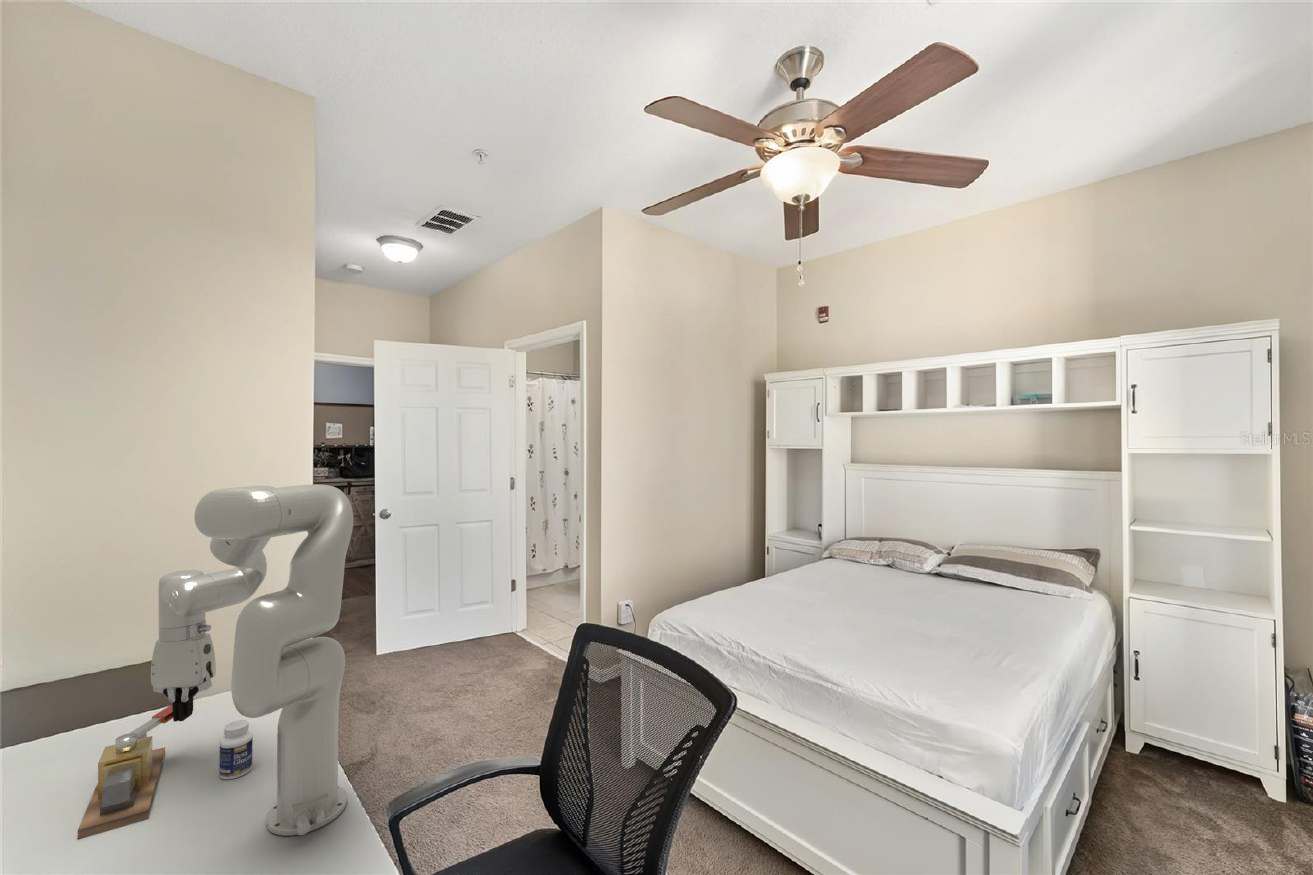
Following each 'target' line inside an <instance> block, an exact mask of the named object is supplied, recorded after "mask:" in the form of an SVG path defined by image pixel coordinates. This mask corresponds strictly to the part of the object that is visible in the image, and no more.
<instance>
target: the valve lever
mask: <svg viewBox="0 0 1313 875" xmlns="http://www.w3.org/2000/svg"><path fill="white" fill-rule="evenodd" d="M172 719H173V714H172V704H170V705H168V706H167V707H166V708H163V709H162V710H161V711H159V712H157V713H156V714H154V715H152V716H151V719H150V720H148V721H147V722H145V723H143V724H141V725H140V726H138V727H137V728H135V729H134V730H132V731H130V732H129V733H125V734H122V735H119V736H118V737H117V738H115V744H116V752H123V751H127V750H130V749H133V748H134V747H136V746H137V738H139V737H141V736H142V735H144V734H145V733H147V734H148V732H150V731H151V730H153V729H155V728H157V727H158V726H160V725H161V724H167V723H168V722H169V721H171V720H172Z"/></svg>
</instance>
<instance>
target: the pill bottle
mask: <svg viewBox="0 0 1313 875" xmlns="http://www.w3.org/2000/svg"><path fill="white" fill-rule="evenodd" d="M249 727H250V726H249V721H248V720H246V719H241V720H240V719H239V720H235V721H231V722H229V723H227V724H226V725H225V726H224V728H223V729H224V730H223V731H224V732H223V736H222V738H221V739H220V740H219V759H218V760H219V763H218V764H219V769H218V770H219V771H218V772H219V777H220V779H222V780H233V779H237V778H239V777H243V776H244V775H246V774H248V773H249V772H250V771H251V770H252V768H253V737H254V736H253V732H252V731H250V730H249Z"/></svg>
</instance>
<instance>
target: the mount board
mask: <svg viewBox="0 0 1313 875" xmlns="http://www.w3.org/2000/svg"><path fill="white" fill-rule="evenodd" d="M165 755H166V747H165V746H164V747H160V748H156V749H152V773H151V776H150V780H149V783H148V786H147V787H144V788H140V789H136V800H135V804H134V806H133V807H129V808H126V809H122V810H119V811H115V812H112V813H108V814H104V815H101V816H100V805H101V802H102V799H99V800H98V783H97V784H96V786H95V789H94V791H93V793H92V795H91V797H90V800H89V802H88V805H87V807H86V809H85V812H84V815H83V817H82V819H81V821H80V823H79V826H78V828H77V840H78V839H82V838H86V837H90V836H93V835H96V834H100V833H103V832H106V831H110V830H113V829H116V828H117V829H118V828H120V827H123V826H127V825H130V824H134V823H137V822H140V821H145V820H148V819H149V817H150V814H151V809H152V805H153V802H154V799H155V793H156V790H157V788H158V787H157V786H158V783H159V779H160V774H161V771H162V768H163V765H164V764H163V763H164V760H165ZM133 791H134V790H133Z"/></svg>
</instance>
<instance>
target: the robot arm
mask: <svg viewBox="0 0 1313 875" xmlns="http://www.w3.org/2000/svg"><path fill="white" fill-rule="evenodd" d="M353 512H354V511H353V507H352V504H351V502H350V499H349V498H348V496H347V495H346V494H345V493H344V492H343V491H342V490H341V489H340V488H337V487H335V486H333V485H327V484H320V483H319V484H317V483H316V484H314V483H313V484H301V485H292V486H291V485H289V486H283V487H281V486H280V487H275V486H270V485H252V486H251V485H249V486H241V487H229V488H228V487H227V488H219V489H214V490H211V491H209V492H207V493H206V494H204V496H202V497H201V498H200V500H199V501H198V503H197V505H196V507H195V511H194V522H195V527H196V528H197V530H198V531H199V533H201V534H202V535H204V536H206V537H208V538H211V540H210V541H209V550H210V552H211V554H212V555H213V557H214V558H216V560H218V561H220V562H221V563H223V564H226V565H229V566H232V567H234V568H231V569H226V570H221V571H220V570H219V571H216V572H215V571H214V572H210V573H206V574H205V573H204V572H203V571H201V570H199V569H198V570H197V569H186V570H185V569H183V570H178V571H172V572H169V573H166V574H164V575H162V576H161V577H160V578H159V579H158V639H156V640H155V643H154V648H153V651H152V657H151V666H150V683H151V686H152V687H153V688H152V690H153V692H154V693H159V694H164V695H165V696H166V697H167V698H168V702H170V703H171V705H172V714H173V722H174V723H175V722H184V721H185V720H186V719H188V718H189V717H191V716H192V715H193V712H194V698H195V696H197V694H199V693H200V692H204V691H207V690H209V689H210V688H212V686H213V682H212V680H211V679H212V678H215V677H216V673H217V668H216V666H217V665H216V664H217V663H216V656H215V655H216V653H215V648H214V647H215V646H214V643H213V639H212V637H211V633H209V632H210V631H211V629H212V625H211V624H207V620H206V616H207V615H206V613H210V612H211V611H212V612H213V611H217V610H219V609H223V608H227V607H228V608H229V607H231V606H235V605H238V604H241V603H243V602H246V601H248V600H249V599H250V598H252V596H253V595H254V594H255V593H256V592H257V590H258V589H259V588H260V586H261V585H262V584H263V582H264V580H265V578H266V575H267V570H268V568H267V567H268V565H267V558H266V555H265V553H264V551H263V550H264V549H265V547H266V546H267V545H268V543H269V541H270V540H271V538H274V537H275V538H276V537H281V536H282V537H283V536H286V535H292V534H298V533H303V532H307V536H306V537H305V538H304V539H303V540H302V541H301V543H300V544H299V545H298V546H297V549H296V551H295V552H294V554H293V556H292V559H291V561H290V565H289V577H288V581H287V586H285V587H284V589H282V590H278V591H275V592H271V593H266V594H264V595H261V596H257V597H256V598H254V599H252V600H251V601H249V602H247V604H246V605H245V606H244V607H243V608H242V610H241V612H240V614H239V615H238V618H237V621H236V625H235V632H234V647H233V657H232V658H233V659H232V669H231V670H232V671H231V685H230V686H231V687H230V689H231V697H232V698H231V699H232V703H233V705H234V708H235V709H236V711H237V712H238V713H239V714H240V715H241V716H243V717H246V718H251V719H255V718H256V719H257V718H260V717H263V716H267V715H270V714H272V713H274V712H276V711H278V710H280V709H281V712H280V714H279V718H278V722H277V734H276V735H277V738H276V742H277V743H276V746H277V747H276V750H277V752H276V754H277V756H276V759H277V760H276V766H277V767H276V769H277V770H276V776H277V777H276V780H277V781H276V803H275V804H274V805H273V806H272V807H271V808H270V809H269V812H267V816H266V821H265V822H266V828H267V829H268V831H269V832H270V833H272V834H275V835H278V836H284V837H285V836H286V837H287V836H298V835H300V836H303V835H306V834H307V833H310V832H312V831H316V830H318V829H319V828H320V829H321V827H323V826H326V825H327V824H330V823H331V822H332V821H334V820H335V819H336V818H337V817H338V816H340V814H341V813H342V812H343V811H344V810H345V808H346V806H347V804H348V793H347V791H346V790H345V789H344V788H343V787H341V786H339V785H338V784H339V777H338V776H339V709H340V708H339V706H340V693H341V689H342V688H341V687H342V681H343V677H344V673H345V668H346V655H345V650H344V648H343V646H342V644H341V643H340V642H339V641H337V640H336V639H335V638H332V637H328V636H320V635H323V634H325V633H327V632H329V631H331V630H332V629H334V627H335V626H336V625H337V623H338V621H339V619H340V616H341V615H340V614H341V609H342V608H341V607H342V599H343V598H342V597H343V589H344V588H343V587H344V576H345V564H346V556H347V553H348V548H349V545H350V542H351V538H352V534H353V529H354V513H353ZM207 632H208V633H207Z"/></svg>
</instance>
